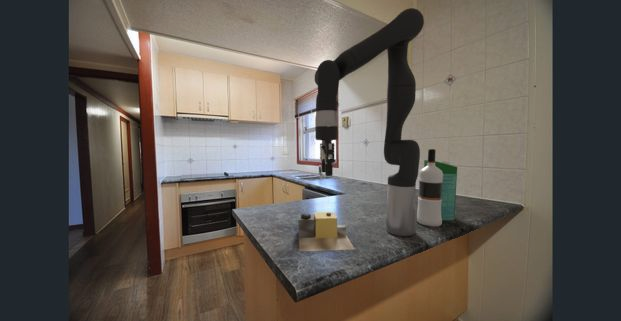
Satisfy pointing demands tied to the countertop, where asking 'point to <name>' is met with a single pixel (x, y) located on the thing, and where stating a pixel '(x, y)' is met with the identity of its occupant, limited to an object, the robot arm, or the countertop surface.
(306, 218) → the peg board base
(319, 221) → the yellow cube with hole
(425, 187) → the vodka
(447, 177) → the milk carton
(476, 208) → the countertop surface
